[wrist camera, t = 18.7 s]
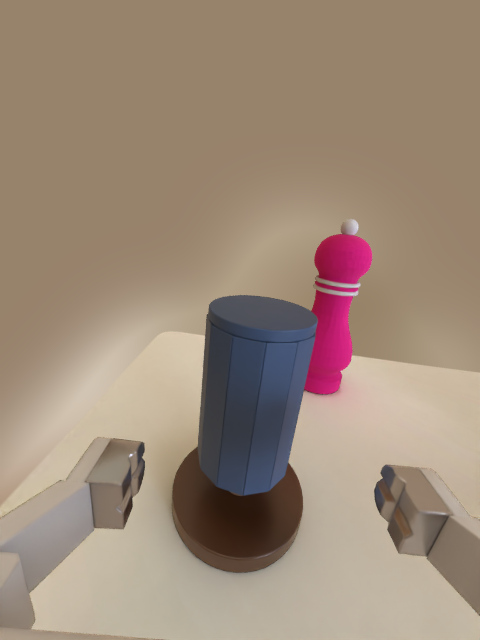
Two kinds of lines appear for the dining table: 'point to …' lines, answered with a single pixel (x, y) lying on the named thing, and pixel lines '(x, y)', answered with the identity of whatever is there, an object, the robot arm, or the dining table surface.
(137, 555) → the dining table surface
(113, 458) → the robot arm
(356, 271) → the pepper mill
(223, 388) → the blue cylinder
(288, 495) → the peg stand
